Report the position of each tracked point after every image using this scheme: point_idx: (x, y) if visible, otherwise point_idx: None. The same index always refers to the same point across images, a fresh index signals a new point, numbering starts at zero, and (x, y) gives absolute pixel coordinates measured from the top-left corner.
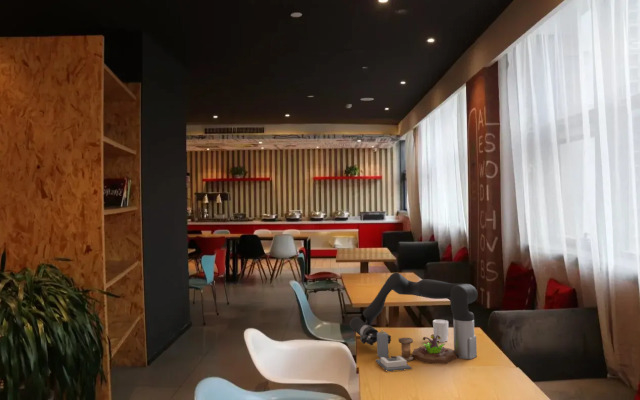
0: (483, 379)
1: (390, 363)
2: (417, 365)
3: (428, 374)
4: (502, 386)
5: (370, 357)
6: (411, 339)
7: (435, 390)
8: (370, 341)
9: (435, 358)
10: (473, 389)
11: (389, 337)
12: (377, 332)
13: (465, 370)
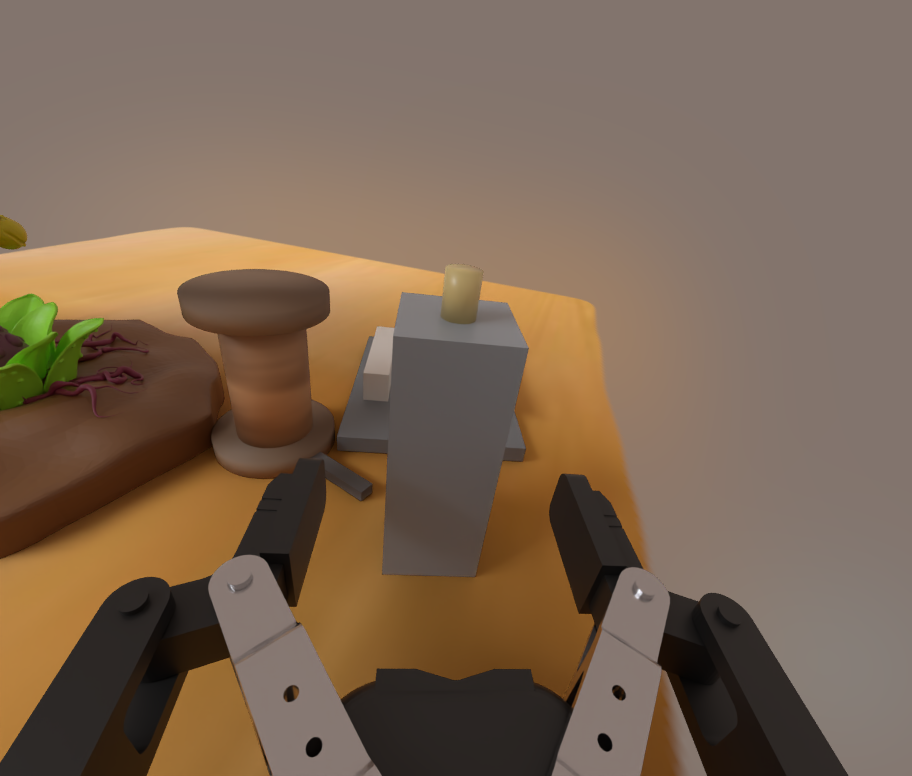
0: (199, 263)
1: None
2: None
3: (335, 311)
4: (208, 245)
5: (553, 555)
6: (208, 279)
7: (398, 273)
8: (591, 491)
9: (161, 333)
10: (298, 256)
11: (175, 587)
12: (519, 345)
13: (156, 294)
